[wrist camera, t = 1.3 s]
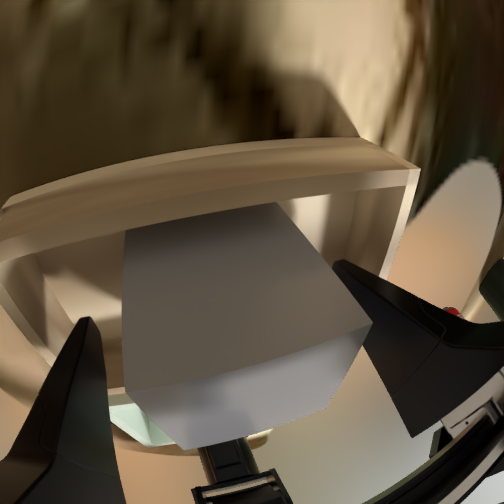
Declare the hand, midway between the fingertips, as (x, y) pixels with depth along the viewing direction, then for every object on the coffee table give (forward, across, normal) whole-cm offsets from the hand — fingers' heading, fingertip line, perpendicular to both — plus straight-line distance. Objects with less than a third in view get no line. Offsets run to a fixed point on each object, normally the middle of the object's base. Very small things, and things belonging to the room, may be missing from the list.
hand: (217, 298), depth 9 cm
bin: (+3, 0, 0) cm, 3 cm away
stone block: (+2, 0, 0) cm, 2 cm away
